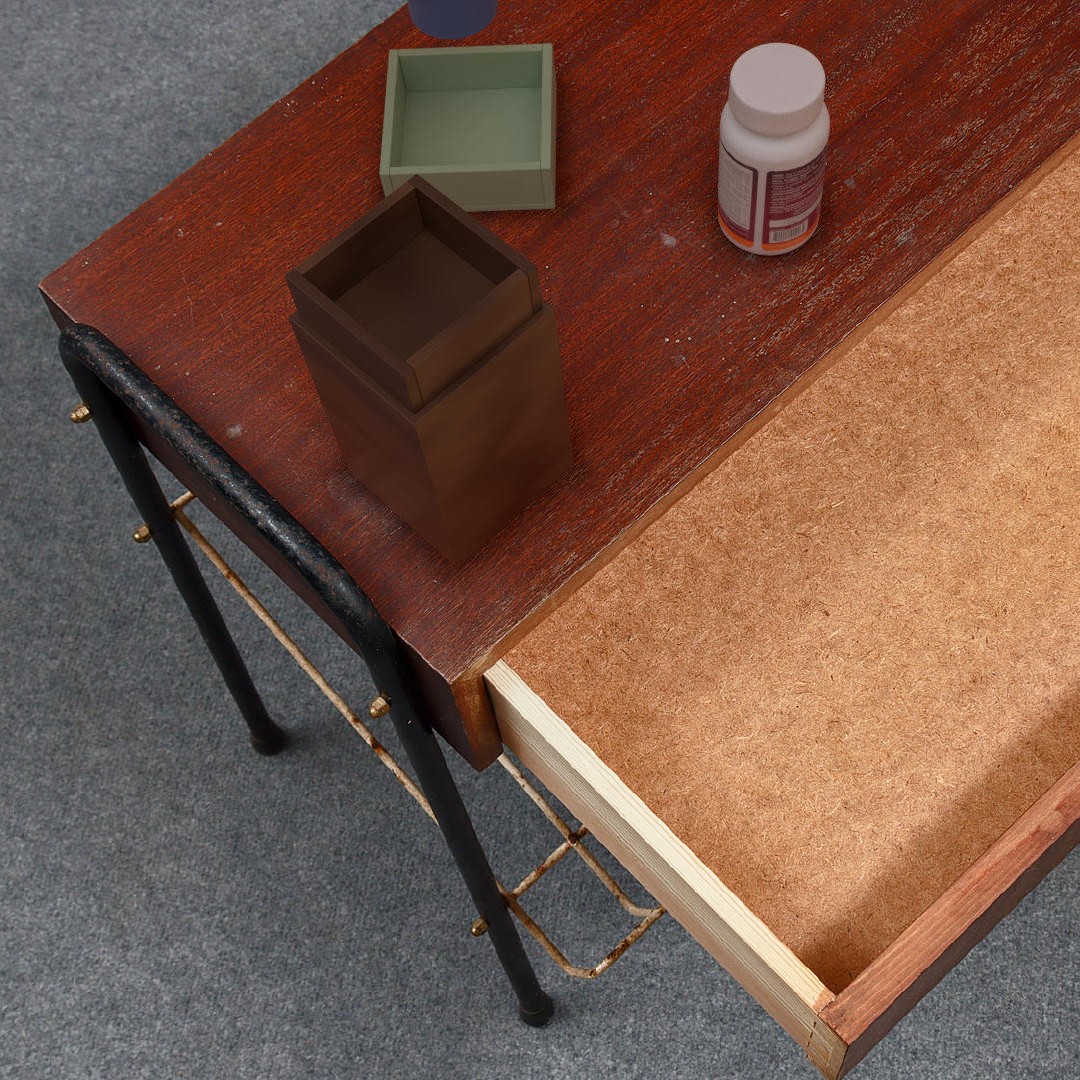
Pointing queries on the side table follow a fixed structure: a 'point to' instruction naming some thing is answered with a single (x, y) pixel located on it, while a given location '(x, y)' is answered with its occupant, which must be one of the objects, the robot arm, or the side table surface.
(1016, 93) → the side table surface
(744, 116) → the pill bottle
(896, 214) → the side table surface
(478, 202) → the bin
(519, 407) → the stand
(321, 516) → the side table surface
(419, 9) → the vial
